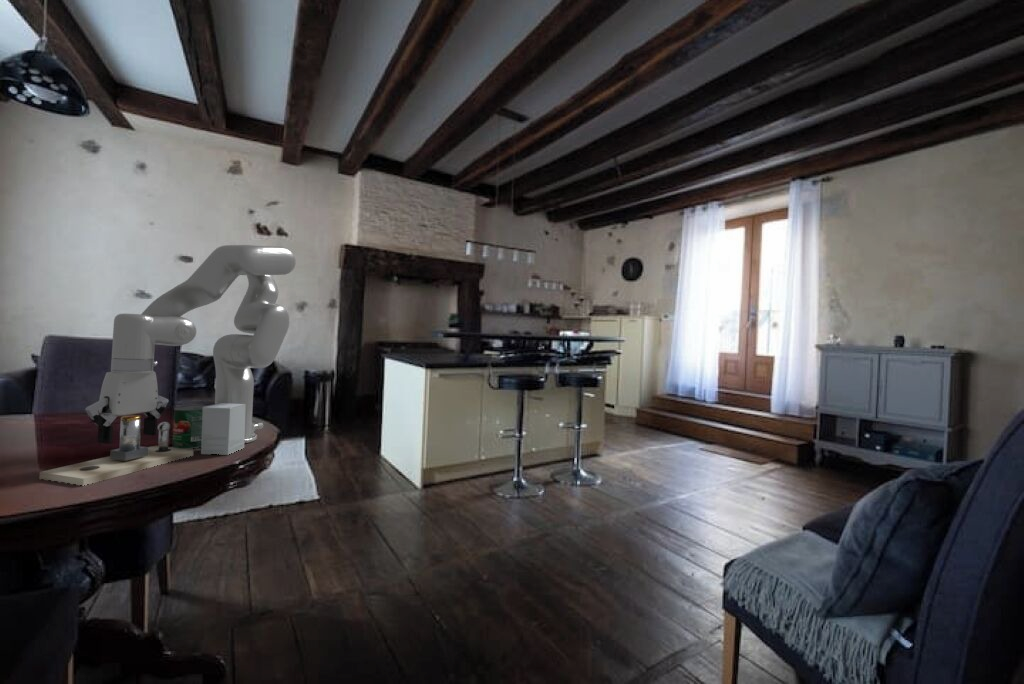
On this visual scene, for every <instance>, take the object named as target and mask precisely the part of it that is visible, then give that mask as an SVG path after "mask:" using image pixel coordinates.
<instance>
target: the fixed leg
mask: <svg viewBox="0 0 1024 684" xmlns="http://www.w3.org/2000/svg"><path fill="white" fill-rule="evenodd" d="M171 428H172V427H171V423H169V422H168V421H162V422H160V423H158V424H157V430H158V445H157V446H158V451H167V450H168V447H169V442H170V441H169V438H170V434H169V433H170V430H171Z"/></svg>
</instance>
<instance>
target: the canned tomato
mask: <svg viewBox="0 0 1024 684" xmlns="http://www.w3.org/2000/svg"><path fill="white" fill-rule="evenodd" d="M206 406H209V405H206V404H186V405H178V406H175V407H174V408H173V411H174V412H173V427H172V428H173V429H172V446H171V447H173V448H181V449H189V450H194V449H193V448H196V449H200V448H199V447H201V440H202V408H203V407H206Z"/></svg>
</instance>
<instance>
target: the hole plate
mask: <svg viewBox="0 0 1024 684" xmlns="http://www.w3.org/2000/svg"><path fill="white" fill-rule="evenodd" d="M147 447H148V455H147V456H143V457H139V458H135V459H131V460H127V461H122V460H114V459H110V455H108V456H104V457H100V458H96V459H92V460H86V461H82V462H79V463H74V464H70V465H65V466H61V467H60V466H59V467H57V468H52V469H48V470H43V471H39V480H41V479H44V480H43V481H48V480H51V481H50V482H54V481H58V482H57V483H61V482H65V483H64V484H67V483H70V484H69V485H73V484H76V485H75V486H80V485H82V486H81V487H85V486H88V485H87V484H89V485H92V483H93V484H96V483H99V481H100V482H104V481H106V480H110V479H114V478H118V477H121V476H125V475H129V474H133V473H136V472H139V471H143V469H144V470H147V469H150V468H153V467H154V466H155V467H158V466H161V464H162V465H165V464H168V462H169V463H172V462H171V461H173V462H176V461H179V459H180V460H184V459H187V458H190V456H191V457H193V456H194V449H181V448H173V447H172V446H168V450H167V451H158V445H153V446H152V445H151V446H147ZM186 457H187V458H186ZM183 458H184V459H183ZM175 460H176V461H175ZM157 465H158V466H157ZM146 468H147V469H146ZM103 480H104V481H103ZM84 485H85V486H84Z"/></svg>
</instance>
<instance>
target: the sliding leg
mask: <svg viewBox="0 0 1024 684" xmlns="http://www.w3.org/2000/svg"><path fill="white" fill-rule="evenodd" d="M141 424H142V416H141V415H139V414H133V415H125V416H120V423H119V425H120V426H119V427H120V428H119V429H120V430H119V448H116V449H111V450H110V454H109V456H110V459H114V460H122V461H127V460H131V459H135V458H139V457H143V456H147V455H148V447H149V446H142V445H141V431H142V430H141Z"/></svg>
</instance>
